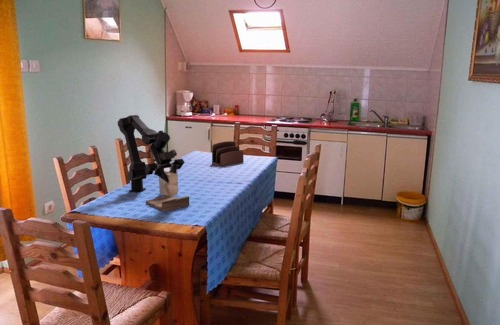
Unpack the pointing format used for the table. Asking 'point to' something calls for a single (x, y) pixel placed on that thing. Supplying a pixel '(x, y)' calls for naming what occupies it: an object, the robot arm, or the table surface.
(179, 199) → the brown wooden tray
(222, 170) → the table surface
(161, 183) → the small box
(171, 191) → the beige rectangular block
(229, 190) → the table surface
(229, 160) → the letter holder
